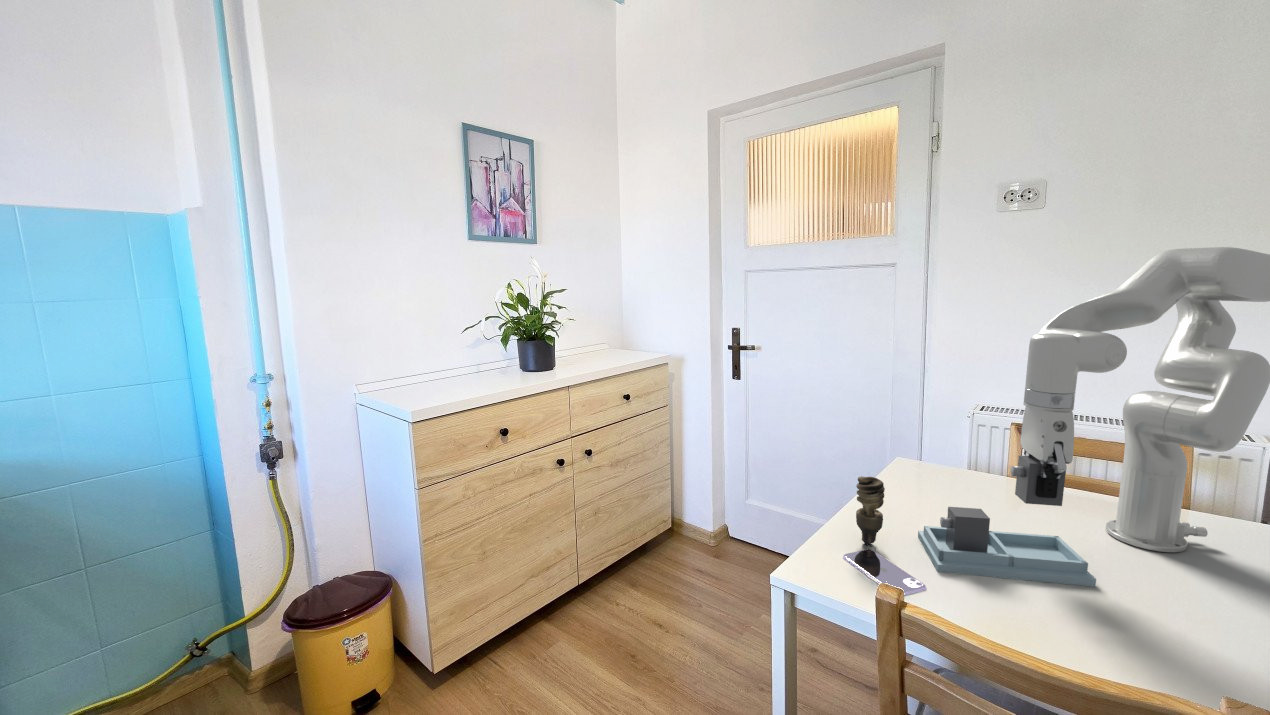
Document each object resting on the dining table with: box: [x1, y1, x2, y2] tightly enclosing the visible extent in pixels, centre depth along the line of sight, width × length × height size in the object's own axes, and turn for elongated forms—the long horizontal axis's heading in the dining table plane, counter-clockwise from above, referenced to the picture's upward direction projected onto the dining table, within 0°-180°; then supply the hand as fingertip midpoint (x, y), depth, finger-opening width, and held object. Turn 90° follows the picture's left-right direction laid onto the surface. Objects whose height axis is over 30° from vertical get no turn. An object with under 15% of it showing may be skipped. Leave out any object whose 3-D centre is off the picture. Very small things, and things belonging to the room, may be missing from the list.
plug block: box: [1010, 455, 1068, 507], centre depth 104 cm, size 8×4×8 cm, turn 77°
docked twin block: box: [939, 506, 991, 553], centre depth 108 cm, size 8×4×8 cm, turn 77°
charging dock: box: [917, 525, 1097, 588], centre depth 107 cm, size 26×14×4 cm, turn 77°
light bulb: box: [855, 475, 886, 546], centre depth 114 cm, size 6×6×15 cm
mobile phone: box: [842, 548, 927, 596], centre depth 105 cm, size 8×1×15 cm
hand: (1039, 490), depth 104 cm, fingers closed on plug block, 4 cm apart
